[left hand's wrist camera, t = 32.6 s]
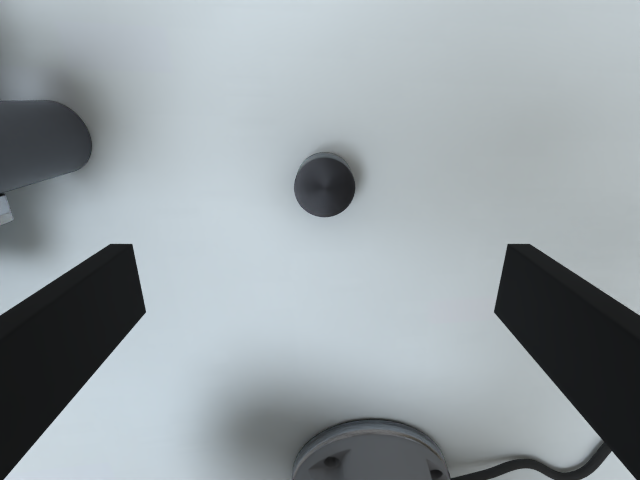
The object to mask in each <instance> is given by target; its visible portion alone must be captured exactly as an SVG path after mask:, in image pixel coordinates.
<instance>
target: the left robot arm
mask: <svg viewBox="0 0 640 480" xmlns="http://www.w3.org/2000/svg"><path fill="white" fill-rule="evenodd" d="M145 313H146V310H145V305H144V300H143V295H142V290H141V285H140V280H139V275H138V270H137V265H136V260H135V255H134V250H133V245H132V244H110V245H108V246H107V247H105V248H103V249H102V250H100V251H99V252H97V253H96V254H94V255H93V256H91V257H90V258H88V259H87V260H85V261H83V262H82V263H80V264H79V265H77V266H76V267H74V268H73V269H71V270H70V271H68V272H67V273H65V274H63V275H62V276H60V277H59V278H57V279H56V280H54V281H53V282H51V283H50V284H48V285H47V286H45V287H44V288H42V289H40V290H39V291H37V292H36V293H34V294H33V295H31V296H30V297H28V298H27V299H25V300H24V301H22V302H20V303H19V304H17V305H16V306H14V307H13V308H11V309H10V310H8V311H7V312H5V313H4V314H2V315H0V480H4V478H5V477H6V476H7V475H8V474H9V473H10V471H11V470H12V469H13V468H14V467H15V466H16V464H17V463H18V462H19V461H20V460H21V459H22V457H23V456H24V455H25V454H26V453H27V451H28V450H29V449H30V448H31V447H32V446H33V444H34V443H35V442H36V441H37V440H38V439H39V437H40V436H41V435H42V434H43V433H44V431H45V430H46V429H47V428H48V427H49V426H50V424H51V423H52V422H53V421H54V420H55V419H56V417H57V416H58V415H59V414H60V413H61V411H62V410H63V409H64V408H65V407H66V406H67V404H68V403H69V402H70V401H71V400H72V399H73V397H74V396H75V395H76V394H77V393H78V391H79V390H80V389H81V388H82V387H83V386H84V384H85V383H86V382H87V381H88V380H89V379H90V377H91V376H92V375H93V374H94V373H95V372H96V370H97V369H98V368H99V367H100V366H101V364H102V363H103V362H104V361H105V360H106V359H107V357H108V356H109V355H110V354H111V353H112V352H113V350H114V349H115V348H116V347H117V346H118V344H119V343H120V342H121V341H122V340H123V339H124V337H125V336H126V335H127V334H128V333H129V332H130V330H131V329H132V328H133V327H134V326H135V324H136V323H137V322H138V321H139V320H140V319H141V317H142V316H143V315H144V314H145ZM494 313H495V314H496V315H497V316H498V317H499V319H500V320H501V321H502V322H503V323H504V324H505V326H506V327H507V328H508V329H509V330H510V332H511V333H512V334H513V335H514V336H515V337H516V339H517V340H518V341H519V342H520V343H521V344H522V346H523V347H524V348H525V349H526V350H527V352H528V353H529V354H530V355H531V356H532V357H533V359H534V360H535V361H536V362H537V363H538V364H539V366H540V367H541V368H542V369H543V370H544V372H545V373H546V374H547V375H548V376H549V377H550V379H551V380H552V381H553V382H554V383H555V384H556V386H557V387H558V388H559V389H560V390H561V391H562V393H563V394H564V395H565V396H566V397H567V399H568V400H569V401H570V402H571V403H572V404H573V406H574V407H575V408H576V409H577V410H578V411H579V413H580V414H581V415H582V416H583V417H584V419H585V420H586V421H587V422H588V423H589V424H590V426H591V427H592V428H593V429H594V430H595V431H596V433H597V434H598V435H599V436H600V437H601V439H602V440H603V441H604V443H603V444H602V446H601V447H600V448H599V449H598V450H597V452H596V453H595V454H594V455H593V457H592V458H591V459H590V460H589V461H588V462H587V463H586V464H585V465H584V466H583V467H581V468H579V469H577V470H575V471H572V472H567V473H561V472H557V471H554V470H552V469H550V468H549V467H547V466H545V465H543V464H542V463H540V462H537V461H535V460H530V459H517V460H512V461H508V462H505V463H502V464H500V465H497V466H495V467H492V468H489V469H486V470H482V471H479V472H475V473H471V474H467V475H463V476H459V477H455V478H451V479H450V474H449V471H448V468H447V465H446V462H445V459H444V457H443V454H442V452H441V450H440V449H439V447H438V446H437V445H436V444H435V443H434V441H433V440H431V439H430V438H429V437H428V436H426V435H425V434H424V433H422V432H420V431H418V430H417V429H414V428H412V427H410V426H407V425H404V424H401V423H397V422H392V421H385V420H360V421H353V422H348V423H344V424H340V425H337V426H335V427H332V428H330V429H327V430H325V431H323V432H322V433H320V434H318V435H317V436H315V437H314V438H312V439H311V440H310V441H309V442H308V443H307V444H306V445H305V446H304V447H303V448H302V450H301V451H300V452H299V454H298V456H297V458H296V460H295V463H294V467H293V476H292V480H488V479H491V478H494V477H497V476H500V475H502V474H505V473H507V472H510V471H513V470H517V469H522V468H530V469H534V470H537V471H539V472H541V473H543V474H544V475H546V476H548V477H550V478H552V479H554V480H580V479H583V478H585V477H587V476H588V475H590V474H591V473H593V472H594V471H595V470H596V469H597V468H598V467H599V466H600V465H601V463H602V462H603V461H604V460H605V459H606V457H607V456H608V455H609V454H610V453H611V451H613V453H614V454H615V455H616V456H617V457H618V459H619V460H620V461H621V462H622V463H623V464H624V466H625V467H626V468H627V469H628V470H629V471H630V473H631V474H632V475H633V476H634V477H635V478H636V480H640V315H638V314H636V313H635V312H633V311H632V310H630V309H629V308H627V307H626V306H624V305H623V304H621V303H620V302H618V301H616V300H615V299H613V298H612V297H610V296H609V295H607V294H606V293H604V292H603V291H601V290H600V289H598V288H596V287H595V286H593V285H592V284H590V283H589V282H587V281H586V280H584V279H583V278H581V277H580V276H578V275H577V274H575V273H573V272H572V271H570V270H569V269H567V268H566V267H564V266H563V265H561V264H560V263H558V262H557V261H555V260H553V259H552V258H550V257H549V256H547V255H546V254H544V253H543V252H541V251H540V250H538V249H537V248H535V247H533V246H532V245H530V244H508V245H507V250H506V255H505V260H504V265H503V270H502V275H501V280H500V285H499V290H498V295H497V300H496V305H495V310H494Z"/></svg>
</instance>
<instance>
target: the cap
mask: <svg viewBox="0 0 640 480" xmlns="http://www.w3.org/2000/svg"><path fill="white" fill-rule="evenodd" d="M294 191H295V196H296V199H297V201H298V203H299V204H300V205H301V207H302V208H303V209H304V210H306V211H307V212H308V213H310V214H312V215H315V216H319V217H330V216H334V215H337V214H339V213H341V212H342V211H344V210H345V209H346V208H347V207H348V206H349V204H350V203H351V201H352V199H353V197H354V193H355V181H354V178H353V175H352V172H351V170H350V167H349V166H348V164H347V163H346V162H345V161H344V160H343V159H342V158H341V157H339V156H337V155H335V154H333V153H327V152H322V153H317V154H314V155H312V156H310V157H308V158H307V159H306V160H305V161H304V162H303V163H302V164H301V166H300V168H299V170H298V173H297V176H296V179H295V183H294Z"/></svg>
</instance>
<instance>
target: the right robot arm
mask: <svg viewBox="0 0 640 480" xmlns="http://www.w3.org/2000/svg"><path fill="white" fill-rule="evenodd" d="M10 221H13V216H12V213H11V209H10V206H9V203H8V200H7V197H6V194H4V193H0V225H3V224H5V223H8V222H10Z"/></svg>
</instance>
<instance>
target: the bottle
mask: <svg viewBox="0 0 640 480" xmlns="http://www.w3.org/2000/svg"><path fill="white" fill-rule="evenodd" d="M90 154H91V138H90V135H89V132H88V130H87V127H86V126H85V124H84V123H83V121H82V120H81V119H80V117H79V116H78V115H77V114H76V113H75V112H74V111H72V110H71V109H69V108H68V107H66V106H65V105H62V104H60V103H57V102H54V101H47V100H38V101H0V193H3V192H7V191H10V190H13V189H17V188H20V187H23V186H27V185H30V184H33V183H37V182H40V181H43V180H47V179H50V178H53V177H57V176H60V175H63V174H67V173H70V172H73V171H76V170H78V169H80V168H82V167H83V166H84V165H85V164H86V162H87V161H88V159H89V157H90Z"/></svg>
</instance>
